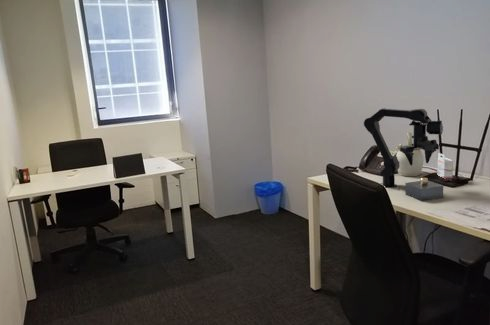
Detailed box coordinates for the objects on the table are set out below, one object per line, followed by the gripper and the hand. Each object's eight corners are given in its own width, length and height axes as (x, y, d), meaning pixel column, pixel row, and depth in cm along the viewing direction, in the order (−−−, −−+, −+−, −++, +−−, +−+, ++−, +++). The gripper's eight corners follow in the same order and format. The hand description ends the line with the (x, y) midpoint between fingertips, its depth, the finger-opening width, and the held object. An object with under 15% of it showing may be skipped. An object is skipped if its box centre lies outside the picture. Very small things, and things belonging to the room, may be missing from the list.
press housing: (405, 194, 196) (405, 182, 194) (426, 191, 198) (426, 179, 197) (420, 201, 184) (421, 188, 183) (443, 197, 186) (443, 185, 185)
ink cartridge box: (453, 181, 211) (454, 154, 209) (443, 182, 212) (444, 155, 209) (445, 177, 220) (446, 152, 217) (436, 178, 220) (437, 152, 217)
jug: (392, 176, 232) (392, 134, 227) (399, 170, 244) (399, 130, 239) (420, 178, 223) (421, 134, 218) (425, 172, 235) (426, 130, 230)
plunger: (409, 192, 194) (409, 177, 193) (425, 190, 196) (426, 175, 194) (421, 197, 186) (421, 181, 184) (438, 194, 187) (438, 179, 186)
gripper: (413, 137, 188) (412, 169, 192) (447, 134, 192) (446, 164, 195) (399, 135, 199) (399, 165, 202) (431, 131, 203) (431, 161, 206)
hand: (419, 164), depth 201 cm, fingers open, 9 cm apart
